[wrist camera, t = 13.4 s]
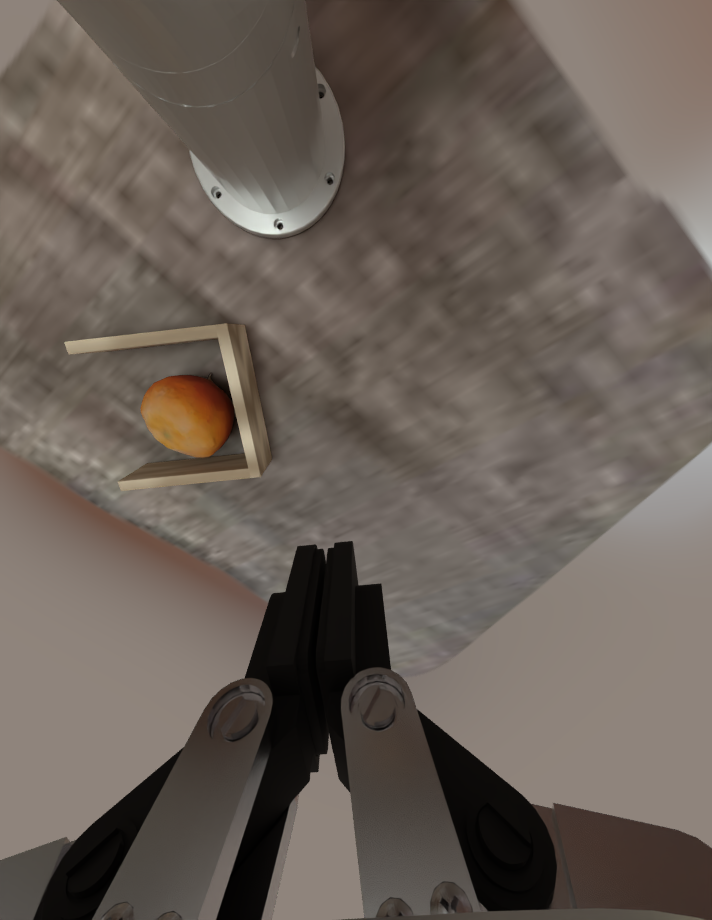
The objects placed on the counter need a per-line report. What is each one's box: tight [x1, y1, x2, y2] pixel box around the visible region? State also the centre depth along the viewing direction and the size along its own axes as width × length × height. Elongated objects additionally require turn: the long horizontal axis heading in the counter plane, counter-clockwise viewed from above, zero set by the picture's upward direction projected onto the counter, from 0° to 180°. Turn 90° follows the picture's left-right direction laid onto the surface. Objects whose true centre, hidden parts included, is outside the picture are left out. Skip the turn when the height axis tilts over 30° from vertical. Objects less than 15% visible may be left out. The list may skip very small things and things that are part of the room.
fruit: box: [141, 373, 235, 457], centre depth 33 cm, size 8×8×8 cm
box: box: [64, 323, 272, 491], centre depth 33 cm, size 14×14×5 cm
